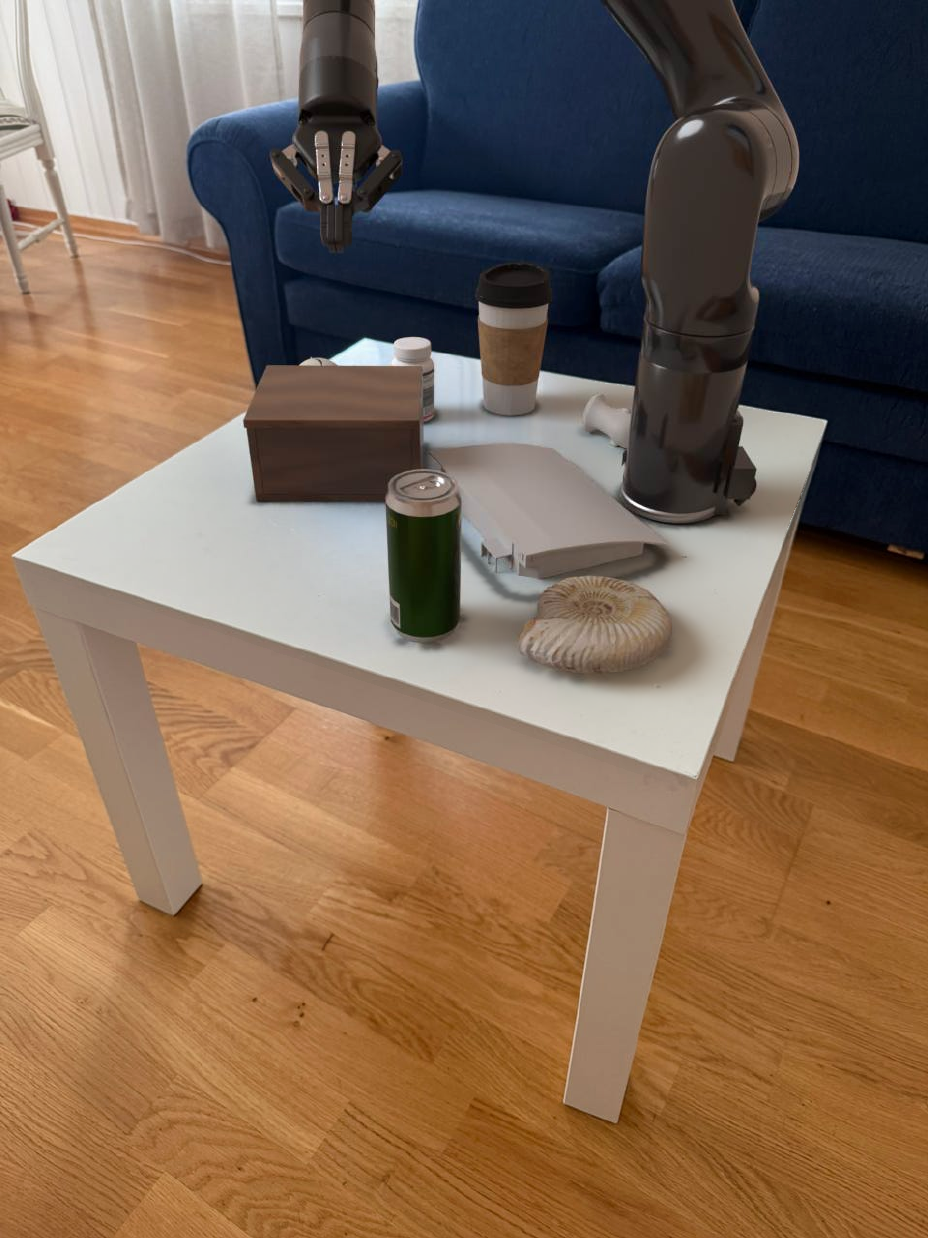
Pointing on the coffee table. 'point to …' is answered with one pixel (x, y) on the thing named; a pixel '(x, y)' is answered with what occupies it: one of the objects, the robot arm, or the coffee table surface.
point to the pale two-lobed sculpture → (607, 420)
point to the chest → (331, 462)
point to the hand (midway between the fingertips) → (336, 247)
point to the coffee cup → (512, 334)
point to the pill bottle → (418, 354)
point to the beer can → (424, 554)
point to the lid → (337, 397)
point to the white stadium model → (540, 510)
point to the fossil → (596, 626)
